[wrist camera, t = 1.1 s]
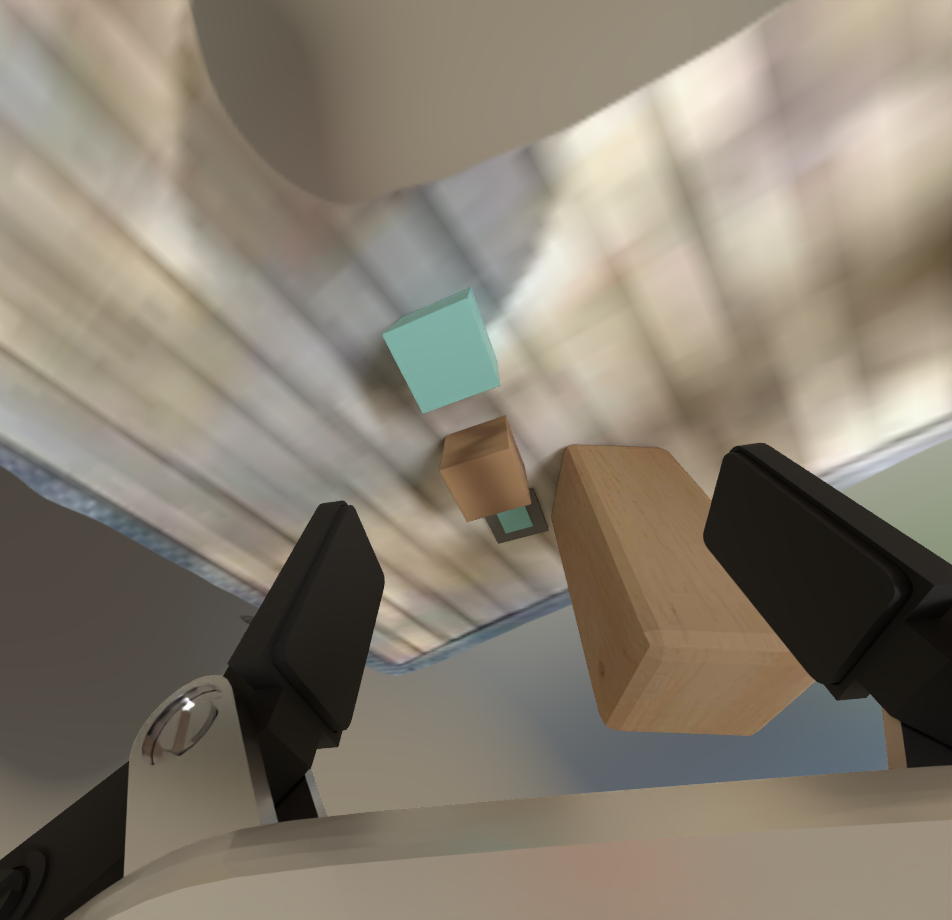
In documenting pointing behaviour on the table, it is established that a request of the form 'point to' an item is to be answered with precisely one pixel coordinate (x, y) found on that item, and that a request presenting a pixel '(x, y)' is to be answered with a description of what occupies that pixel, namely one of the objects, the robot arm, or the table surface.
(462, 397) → the teal cube
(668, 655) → the wooden block
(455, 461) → the walnut cube
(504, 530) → the card
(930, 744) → the robot arm
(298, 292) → the table surface
